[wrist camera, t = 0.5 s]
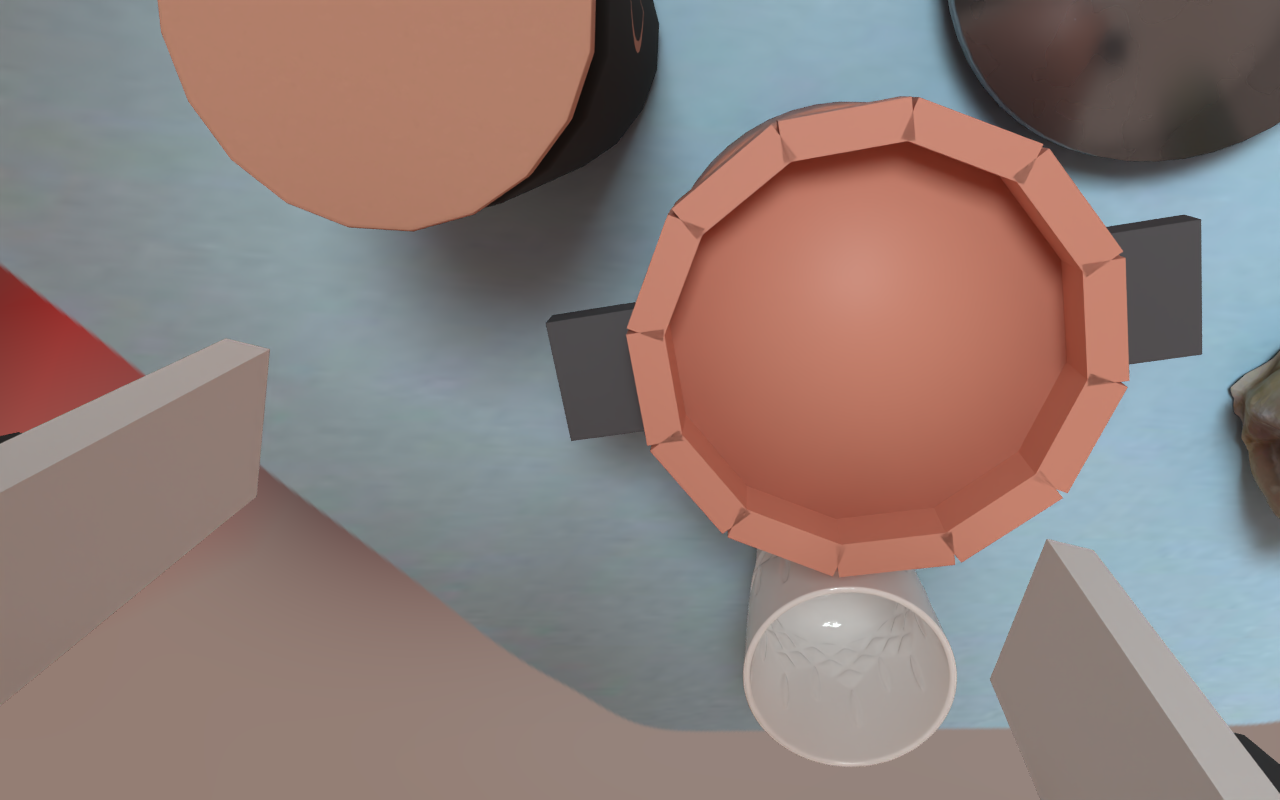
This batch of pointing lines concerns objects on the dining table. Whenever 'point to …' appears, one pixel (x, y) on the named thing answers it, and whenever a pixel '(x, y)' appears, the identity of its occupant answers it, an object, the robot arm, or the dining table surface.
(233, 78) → the coffee jar
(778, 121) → the pot
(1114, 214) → the dining table surface
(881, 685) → the white cup
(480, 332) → the dining table surface
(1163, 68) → the lid
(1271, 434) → the garlic bulb
